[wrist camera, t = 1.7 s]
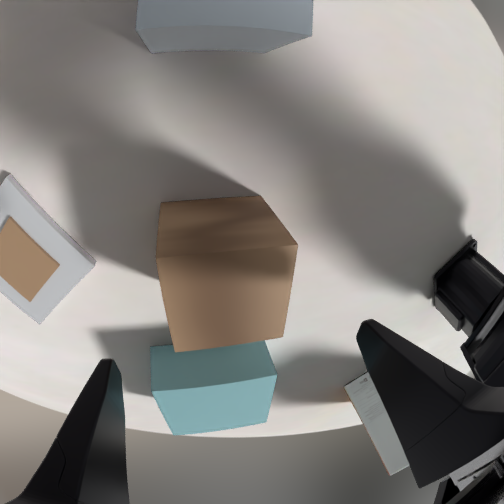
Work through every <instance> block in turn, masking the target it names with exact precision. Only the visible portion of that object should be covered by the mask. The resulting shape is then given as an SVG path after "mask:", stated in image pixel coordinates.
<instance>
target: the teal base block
mask: <svg viewBox="0 0 504 504" xmlns="http://www.w3.org/2000/svg"><path fill="white" fill-rule="evenodd" d="M150 363H151V392H152V394H153V396H154V398H155V400H156V402H157V404H158V406H159V408H160V410H161V412H162V414H163V416H164V418H165V420H166V422H167V424H168V426H169V428H170V430H171V431H172V433H173V435H185V434H195V433H204V432H212V431H220V430H226V429H233V428H239V427H244V426H250V425H255V424H260V423H264V422H266V421H267V417H268V413H269V409H270V405H271V401H272V396H273V392H274V388H275V383H276V379H277V372H276V370H275V367H274V364H273V362H272V359H271V356H270V354H269V351H268V349H267V346H266V343H265V340H263V341H257V342H251V343H245V344H238V345H232V346H225V347H217V348H210V349H202V350H193V351H184V352H175V350H174V346H173V345H164V346H152V347H150Z"/></svg>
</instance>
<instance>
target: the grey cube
mask: <svg viewBox="0 0 504 504" xmlns="http://www.w3.org/2000/svg"><path fill="white" fill-rule="evenodd" d="M312 22H313V0H138V7H137V18H136V32H137V33H138V34H139V36H140V37H141V39H142V40H143V42H144V43H145V45H146V46H147V48H148V49H149V51H150V52H151V53H162V52H176V51H244V52H258V53H266V52H268V51H271V50H274V49H276V48H279V47H281V46H284V45H287V44H290V43H293V42H296V41H298V40H301V39H304V38H308V37H311V36H312Z"/></svg>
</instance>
